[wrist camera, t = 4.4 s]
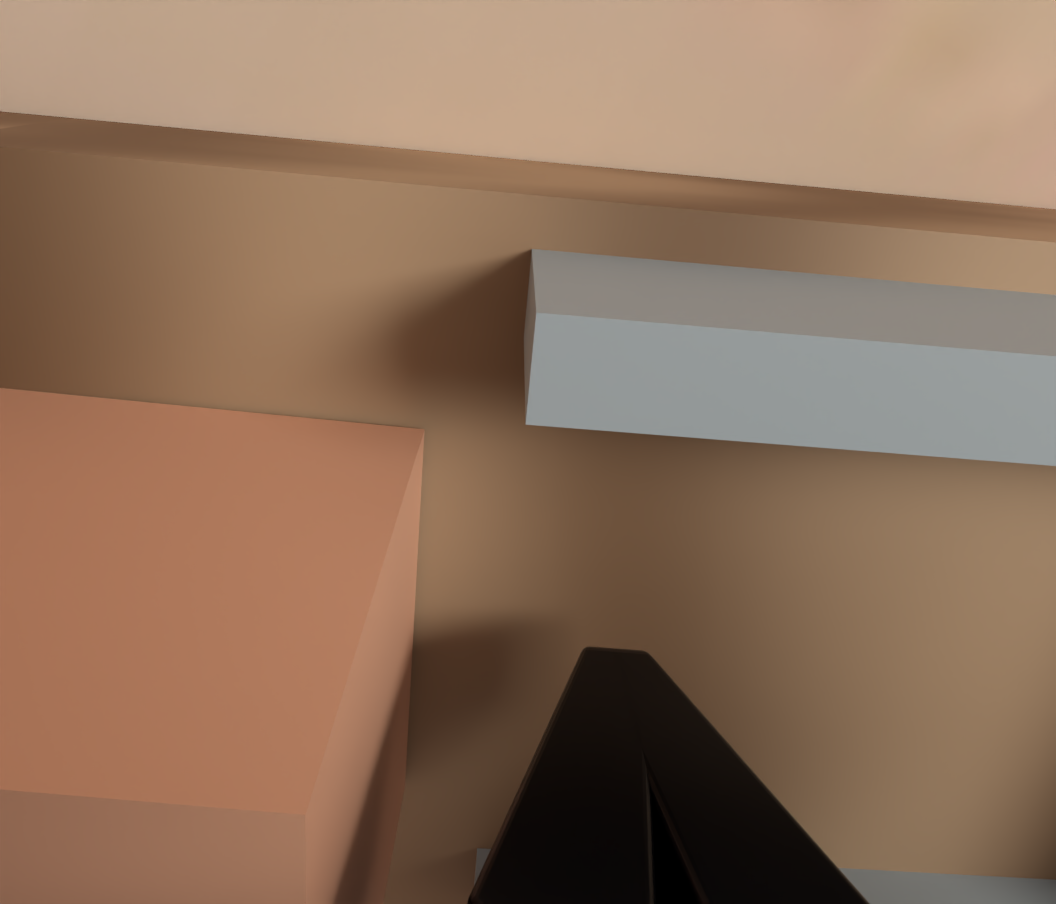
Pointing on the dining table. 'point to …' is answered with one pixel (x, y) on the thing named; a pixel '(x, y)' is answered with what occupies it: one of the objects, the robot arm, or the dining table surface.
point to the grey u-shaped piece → (798, 392)
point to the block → (202, 652)
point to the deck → (583, 467)
